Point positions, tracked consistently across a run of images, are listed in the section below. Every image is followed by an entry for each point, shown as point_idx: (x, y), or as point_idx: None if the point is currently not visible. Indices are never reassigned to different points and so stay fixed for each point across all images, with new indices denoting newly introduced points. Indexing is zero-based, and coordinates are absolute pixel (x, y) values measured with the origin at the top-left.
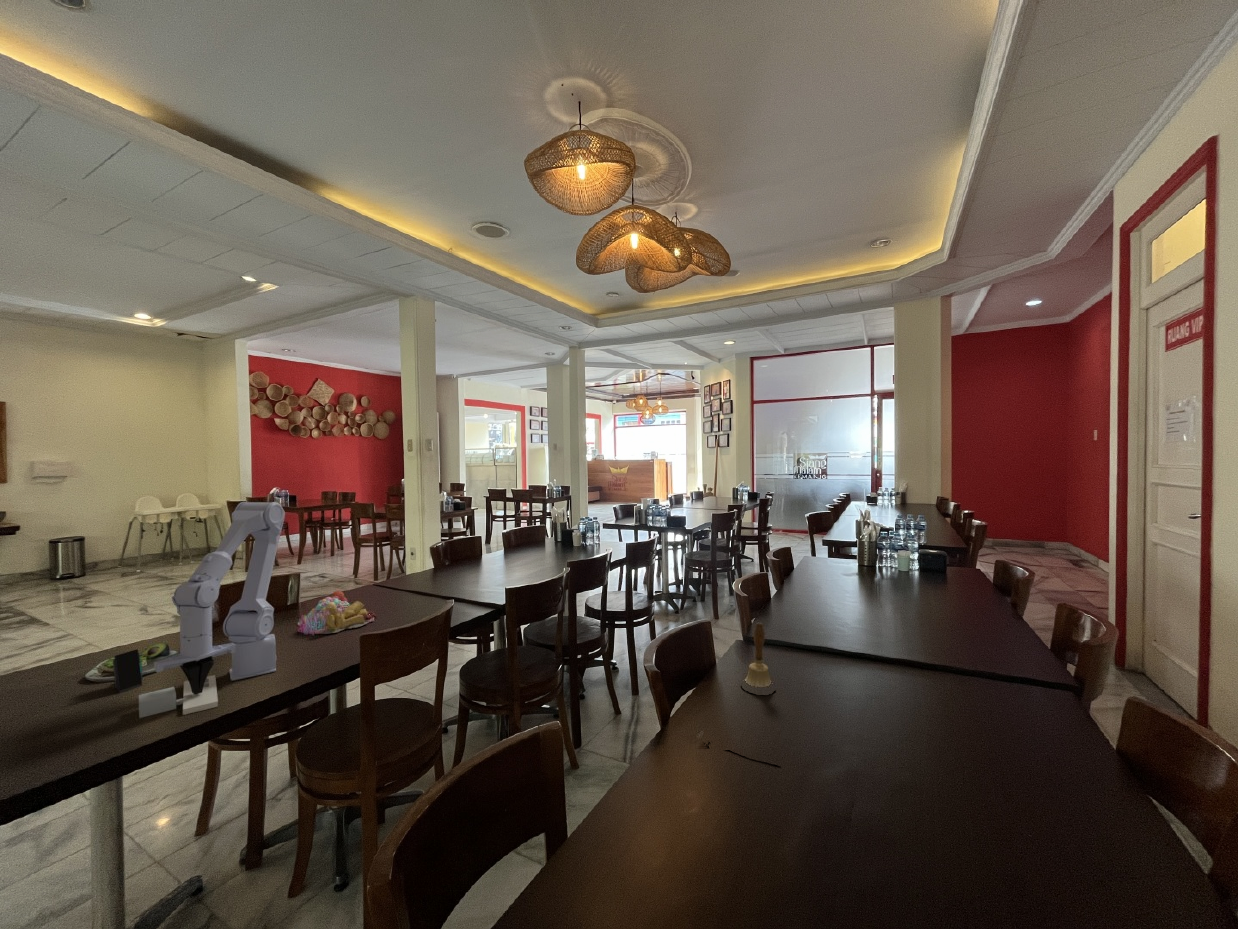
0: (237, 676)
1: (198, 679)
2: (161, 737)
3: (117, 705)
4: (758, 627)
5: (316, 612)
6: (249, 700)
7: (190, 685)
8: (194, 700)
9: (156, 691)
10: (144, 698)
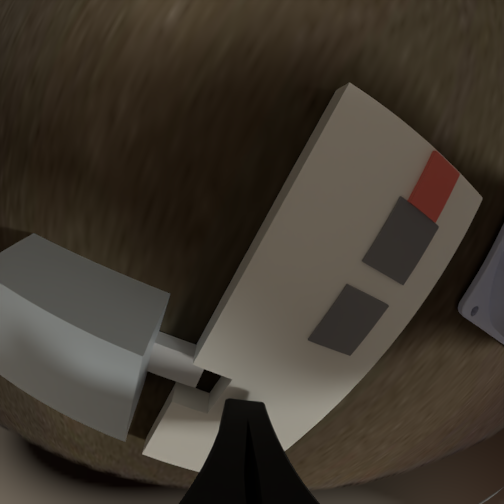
0: (485, 303)
1: (245, 489)
2: (86, 462)
3: (16, 63)
4: None
5: None
6: (313, 478)
7: (218, 432)
8: (199, 438)
9: (42, 320)
10: (3, 352)
